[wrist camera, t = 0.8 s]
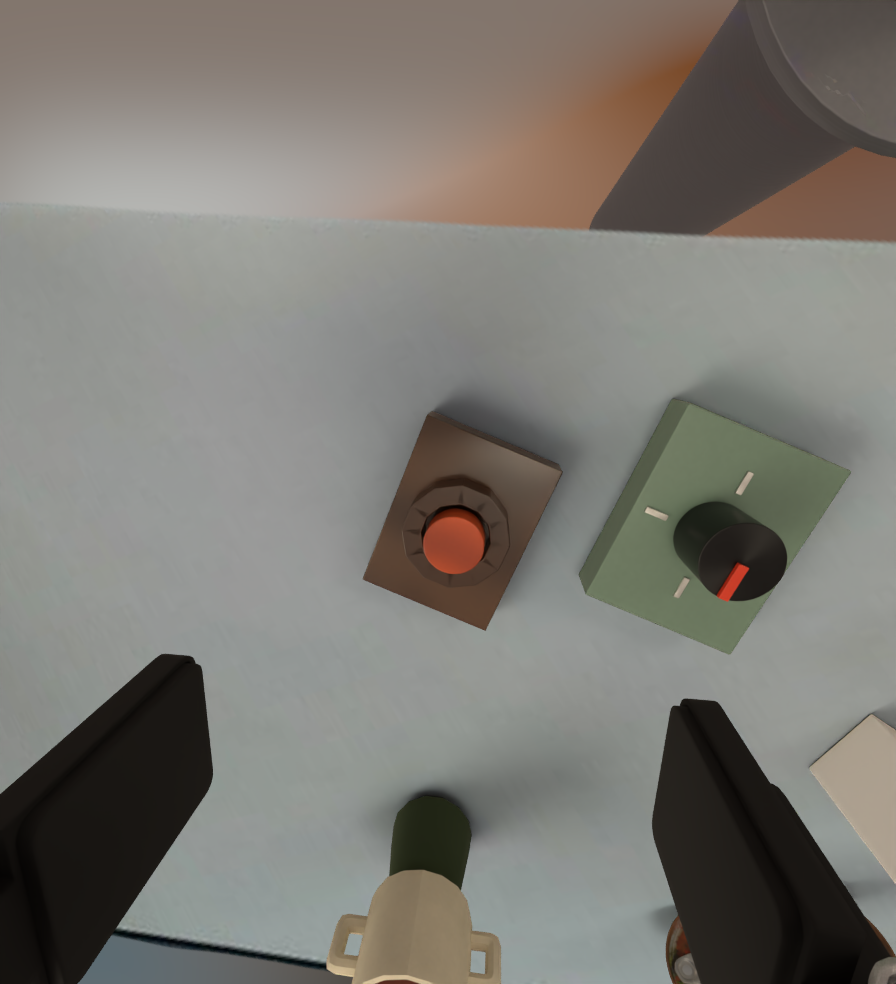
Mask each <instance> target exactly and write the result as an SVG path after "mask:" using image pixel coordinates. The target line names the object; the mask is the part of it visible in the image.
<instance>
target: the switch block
mask: <svg viewBox="0 0 896 984" xmlns="http://www.w3.org/2000/svg"><path fill="white" fill-rule="evenodd" d="M562 473H563V471H562V470H561V468H560V466H559V464H556V463H554V462H552V461H549V460H547V459H545V458H542V457H540V456H538V455H535V454H533V453H530V452H528V451H526V450H523V449H521V448H519V447H516V446H514V445H511V444H509V443H507V442H504V441H502V440H500V439H497V438H495V437H493V436H490V435H488V434H485V433H483V432H481V431H478V430H476V429H474V428H471V427H469V426H466V425H464V424H462V423H459V422H457V421H455V420H452V419H450V418H448V417H445V416H443V415H440V414H438V413H436V412H433V411H431V412H430V413H429V414H428V415H427V416H426V419H425V421H424V424H423V427H422V429H421V432H420V434H419V437H418V439H417V442H416V444H415V447H414V450H413V452H412V455H411V457H410V460H409V462H408V465H407V467H406V470H405V472H404V475H403V478H402V480H401V483H400V485H399V488H398V490H397V493H396V495H395V498H394V500H393V503H392V506H391V508H390V511H389V513H388V516H387V518H386V521H385V523H384V526H383V529H382V531H381V534H380V536H379V539H378V541H377V544H376V546H375V549H374V551H373V554H372V557H371V559H370V562H369V564H368V567H367V569H366V572H365V574H364V577H363V580H365V581H368V582H370V583H373V584H375V585H377V586H380V587H382V588H385V589H387V590H389V591H392V592H394V593H397V594H399V595H401V596H404V597H406V598H409V599H411V600H413V601H416V602H418V603H420V604H423V605H425V606H428V607H430V608H432V609H435V610H437V611H440V612H442V613H444V614H447V615H449V616H452V617H454V618H456V619H459V620H461V621H463V622H466V623H468V624H471V625H473V626H475V627H478V628H480V629H483V630H486V628H487V626H488V624H489V622H490V620H491V618H492V616H493V614H494V612H495V610H496V608H497V606H498V604H499V602H500V600H501V598H502V596H503V594H504V592H505V589H506V587H507V585H508V583H509V581H510V579H511V577H512V575H513V573H514V571H515V569H516V567H517V565H518V563H519V561H520V559H521V557H522V555H523V553H524V551H525V549H526V546H527V544H528V542H529V540H530V538H531V536H532V534H533V532H534V530H535V528H536V526H537V524H538V522H539V520H540V518H541V516H542V514H543V512H544V510H545V508H546V506H547V503H548V501H549V499H550V497H551V495H552V493H553V491H554V489H555V487H556V485H557V483H558V481H559V479H560V477H561V475H562ZM451 508H458V509H464V510H467V511H469V512H471V513H472V514H474V515H475V516H476V517H477V518H478V519H479V520H480V522H481V523H482V525H483V528H484V531H485V546H484V553H483V556H482V558H481V560H480V562H479V563H478V564H477V565H476V566H475V567H474V568H473V569H471V570H469V571H467V572H465V573H461V574H449V573H445V572H442V571H440V570H438V569H437V568H435V567H434V566H433V565H432V564H431V563H430V562H429V561H428V559H427V557H426V555H425V553H424V549H423V540H424V536H425V533H426V530H427V528H428V526H429V524H430V522H431V520H432V519H433V518H434V517H435V516H436V515H437V514H438V513H440V512H442V511H444V510H447V509H451Z"/></svg>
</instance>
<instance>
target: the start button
mask: <svg viewBox="0 0 896 984" xmlns="http://www.w3.org/2000/svg"><path fill="white" fill-rule="evenodd" d="M484 546H485V531H484V528H483V525H482V523H481V522H480V520H479V519H478V518H477V517H476V516H475V515H474V514H472V513H471V512H469V511H467V510H464V509H458V508H451V509H447V510H444V511H442V512H440V513H438V514H437V515H436V516H435V517H434V518H433V519H432V520H431V522H430V524H429V526H428V528H427V530H426V533H425V536H424V540H423V549H424V553H425V555H426V557H427V559H428V561H429V562H430V563H431V564H432V565H433V566H434V567H435V568H437V569H438V570H440V571H442V572H445V573H449V574H461V573H465V572H467V571H469V570H471V569H473V568H474V567H475V566H476V565H477V564H478V563H479V562H480V560H481V558H482V556H483V553H484Z"/></svg>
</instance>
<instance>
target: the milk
mask: <svg viewBox="0 0 896 984" xmlns="http://www.w3.org/2000/svg"><path fill="white" fill-rule="evenodd" d="M809 769H810V771H811V772H812V773H813V775H814V776H815V777H816V779H817V780H818V781H819V783H820V784H821V785H822V787H823V788H824V789H825V791H826V792H827V793H828V795H829V796H830V797H831V799H832V800H833V801H834V803H835V804H836V805H837V807H838V808H839V809H840V811H841V812H842V813H843V815H844V816H845V817H846V819H847V820H848V821H849V823H850V824H851V825H852V827H853V828H854V829H855V831H856V832H857V833H858V835H859V836H860V837H861V839H862V840H863V841H864V843H865V844H866V845H867V847H868V848H869V849H870V851H871V852H872V853H873V855H874V856H875V857H876V859H877V860H878V861H879V863H880V864H881V865H882V867H883V868H884V869H885V871H886V872H887V873H888V875H889V876H890V877H891V879H892V880H893V881H894V883H895V884H896V730H895V729H893V728H892V727H890V726H889V725H887V724H886V723H884V722H883V721H882V720H880V719H879V718H877V717H876V716H874V715H872V714H871V715H869V716H868V717H867V718H866V719H865V720H864V721H862V722H861V723H860V724H859V725H858V726H857V727H855V728H854V729H853V730H852V731H851V732H850V733H849V734H847V735H846V736H845V737H844V738H843V739H842V740H840V741H839V742H838V743H837V744H836V745H835V746H834V747H832V748H831V749H830V750H829V751H828V752H827V753H825V754H824V755H823V756H822V757H821V758H820V759H819V760H817V761H816V762H815V763H814V764H813V765H812V766H810V768H809Z"/></svg>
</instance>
